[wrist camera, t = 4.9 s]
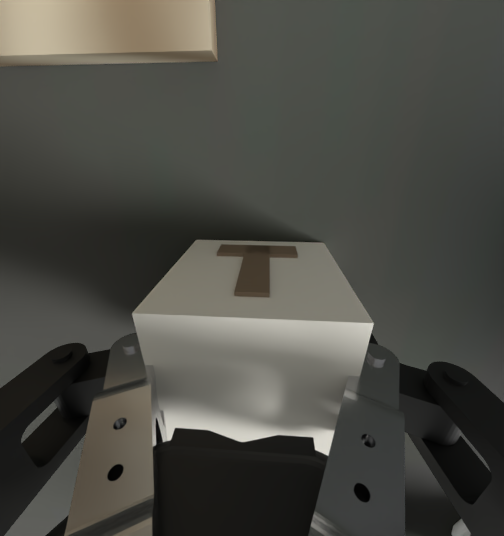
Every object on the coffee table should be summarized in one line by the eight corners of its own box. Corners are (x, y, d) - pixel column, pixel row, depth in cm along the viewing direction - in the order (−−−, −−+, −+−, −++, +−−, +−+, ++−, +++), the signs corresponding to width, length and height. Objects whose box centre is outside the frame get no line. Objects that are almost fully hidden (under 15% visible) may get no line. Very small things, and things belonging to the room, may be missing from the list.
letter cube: (310, 343, 14) (336, 464, 8) (205, 338, 14) (166, 452, 9) (323, 239, 11) (374, 318, 6) (195, 236, 12) (130, 308, 6)
